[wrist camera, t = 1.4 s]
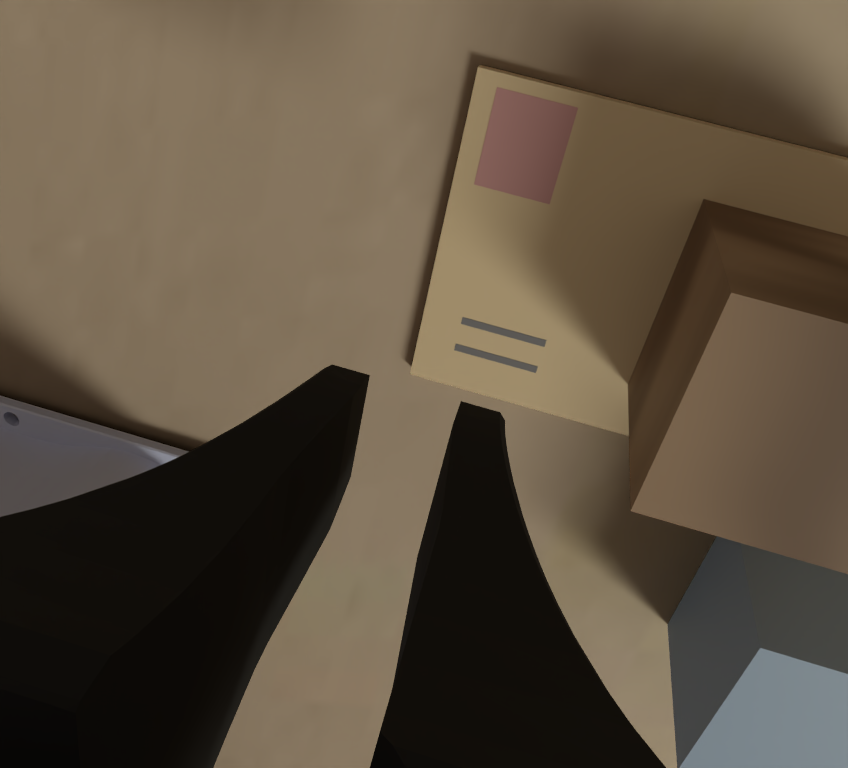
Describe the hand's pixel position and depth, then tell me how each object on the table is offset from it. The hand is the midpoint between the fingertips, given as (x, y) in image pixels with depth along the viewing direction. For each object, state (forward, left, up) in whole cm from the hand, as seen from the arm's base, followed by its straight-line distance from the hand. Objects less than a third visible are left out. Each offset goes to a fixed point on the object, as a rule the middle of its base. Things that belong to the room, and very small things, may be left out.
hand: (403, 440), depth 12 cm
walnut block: (+7, 0, -8) cm, 11 cm away
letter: (+5, 0, -8) cm, 10 cm away
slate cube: (+11, -8, -8) cm, 16 cm away
